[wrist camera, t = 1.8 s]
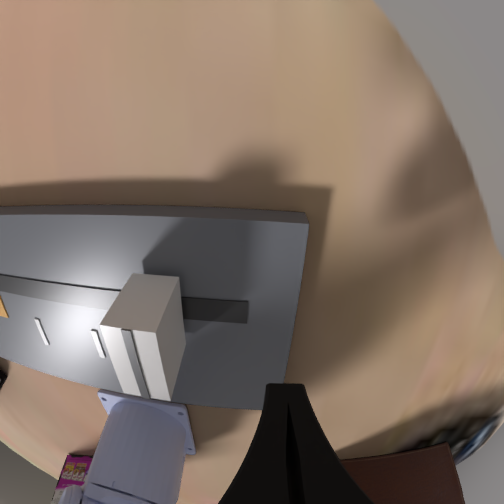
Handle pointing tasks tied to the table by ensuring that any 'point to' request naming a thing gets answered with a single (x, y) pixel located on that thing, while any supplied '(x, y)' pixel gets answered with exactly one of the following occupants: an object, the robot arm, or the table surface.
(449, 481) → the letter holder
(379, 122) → the table surface
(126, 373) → the fader knob
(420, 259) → the table surface
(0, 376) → the miniature car
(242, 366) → the console board
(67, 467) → the candy bar box
